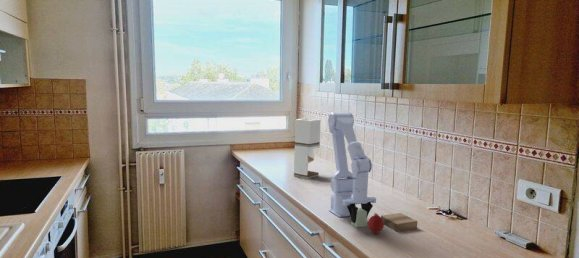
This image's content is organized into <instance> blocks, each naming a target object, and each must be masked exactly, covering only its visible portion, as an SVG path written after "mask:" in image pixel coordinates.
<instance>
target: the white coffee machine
mask: <svg viewBox="0 0 579 258" xmlns="http://www.w3.org/2000/svg"><path fill="white" fill-rule="evenodd" d="M321 120H322V119H312V120H311V119H309V120H308V117H307V118H297V119H295V120H294V121H295V125H294V155H293V157H294V158H293V159H294V160H293V162H294V163H293V164H294V166H293V177H295V176H296V177H297V178H301V179H305V178H306V180H310V179H313V178H312V177H314V178H316V177H315V176H317V177H319V176H318V175H319V172H318V171H317V172H316V171H311V170H309V169H308V168H309V163H311V162H313V161H315V160H314V159H315V149H319V148H321V147H320V145H321V143H320V142H321ZM296 177H295V178H296Z"/></svg>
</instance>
